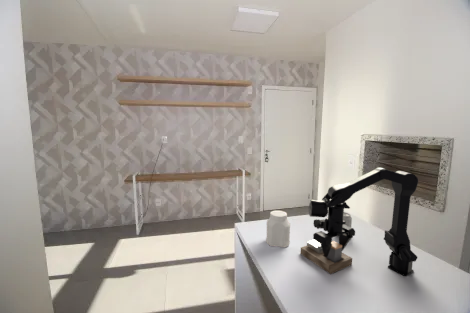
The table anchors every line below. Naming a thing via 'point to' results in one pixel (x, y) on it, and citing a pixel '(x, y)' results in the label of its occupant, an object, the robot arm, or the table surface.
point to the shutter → (315, 246)
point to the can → (347, 219)
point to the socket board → (326, 260)
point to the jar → (278, 229)
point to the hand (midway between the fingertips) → (333, 253)
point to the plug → (335, 252)
